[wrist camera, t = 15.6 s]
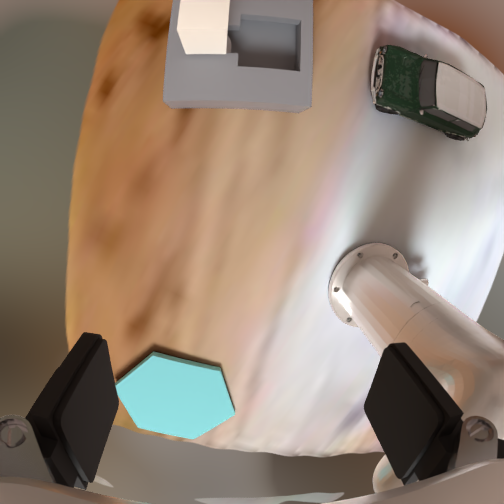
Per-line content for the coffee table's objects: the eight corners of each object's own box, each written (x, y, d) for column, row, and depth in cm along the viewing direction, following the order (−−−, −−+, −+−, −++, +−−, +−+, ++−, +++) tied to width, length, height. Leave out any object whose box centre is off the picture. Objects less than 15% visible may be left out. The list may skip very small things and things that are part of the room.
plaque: (251, 369, 46) (122, 337, 42) (253, 378, 45) (120, 345, 40) (219, 436, 51) (111, 412, 46) (219, 444, 49) (109, 420, 44)
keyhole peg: (232, 32, 30) (237, -14, 19) (229, 70, 31) (233, 34, 20) (188, 32, 29) (176, -13, 18) (185, 69, 31) (170, 35, 20)
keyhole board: (301, 13, 30) (312, -5, 25) (298, 113, 35) (311, 106, 29) (180, 7, 29) (174, -13, 24) (171, 108, 33) (162, 101, 28)
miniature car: (368, 46, 33) (397, 28, 25) (466, 90, 35) (501, 86, 27) (361, 106, 35) (392, 98, 28) (461, 143, 38) (497, 146, 30)
